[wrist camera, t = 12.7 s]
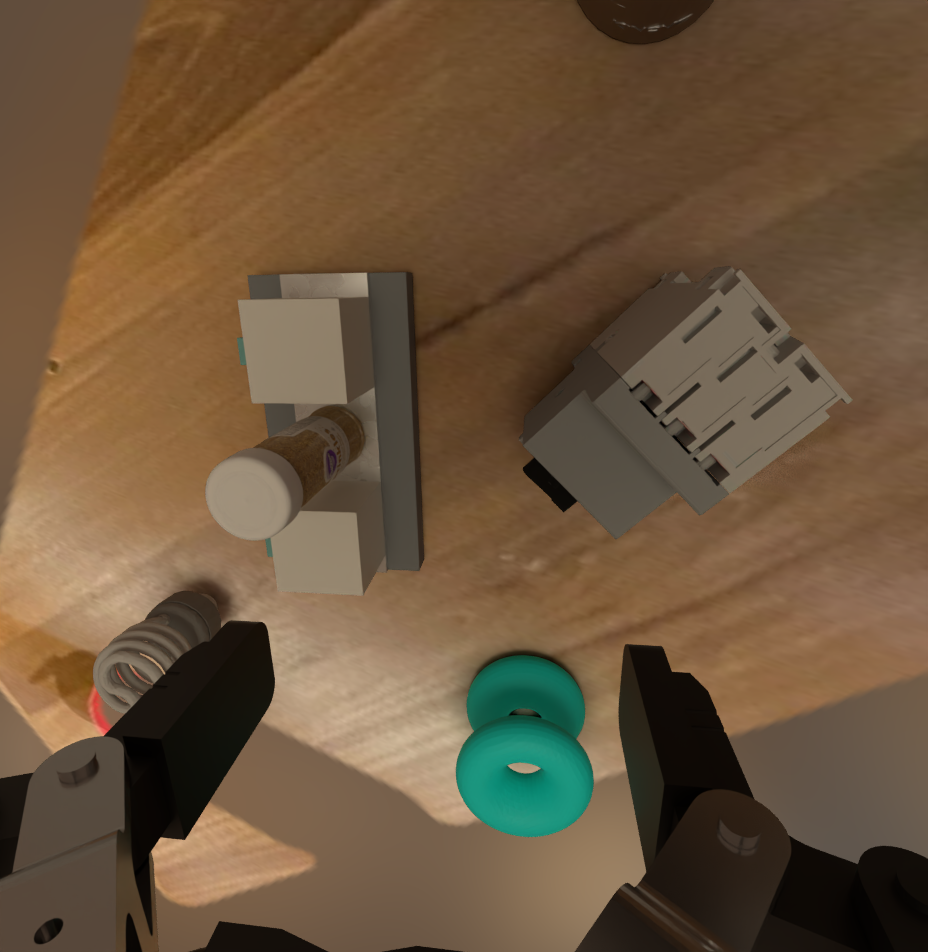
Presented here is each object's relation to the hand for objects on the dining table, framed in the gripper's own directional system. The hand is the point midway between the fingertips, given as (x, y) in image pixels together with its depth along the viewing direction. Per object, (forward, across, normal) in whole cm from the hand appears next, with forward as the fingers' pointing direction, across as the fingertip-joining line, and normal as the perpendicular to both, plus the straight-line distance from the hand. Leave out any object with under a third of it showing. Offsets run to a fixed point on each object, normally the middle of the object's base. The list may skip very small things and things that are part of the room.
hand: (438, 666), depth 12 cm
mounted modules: (+28, +12, +2) cm, 30 cm away
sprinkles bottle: (+28, +12, +2) cm, 30 cm away
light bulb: (+30, +26, +18) cm, 44 cm away
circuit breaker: (+30, -8, -1) cm, 31 cm away
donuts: (+30, -2, +26) cm, 40 cm away
